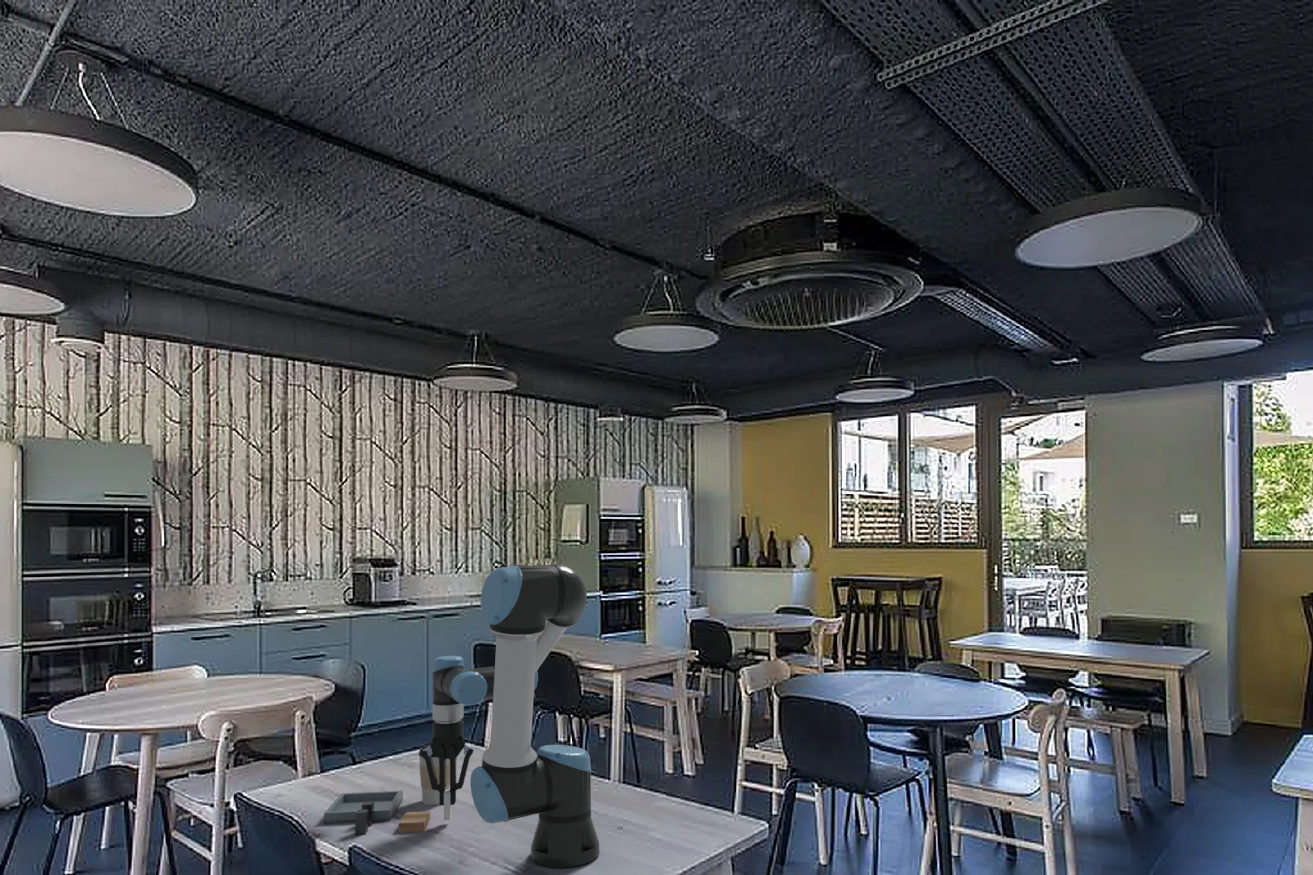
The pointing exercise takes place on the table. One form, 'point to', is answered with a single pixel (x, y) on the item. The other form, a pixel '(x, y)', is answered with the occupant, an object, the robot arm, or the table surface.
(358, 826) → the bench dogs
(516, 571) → the robot arm
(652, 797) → the table surface
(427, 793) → the coffee cup
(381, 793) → the tray
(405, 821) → the wooden block
